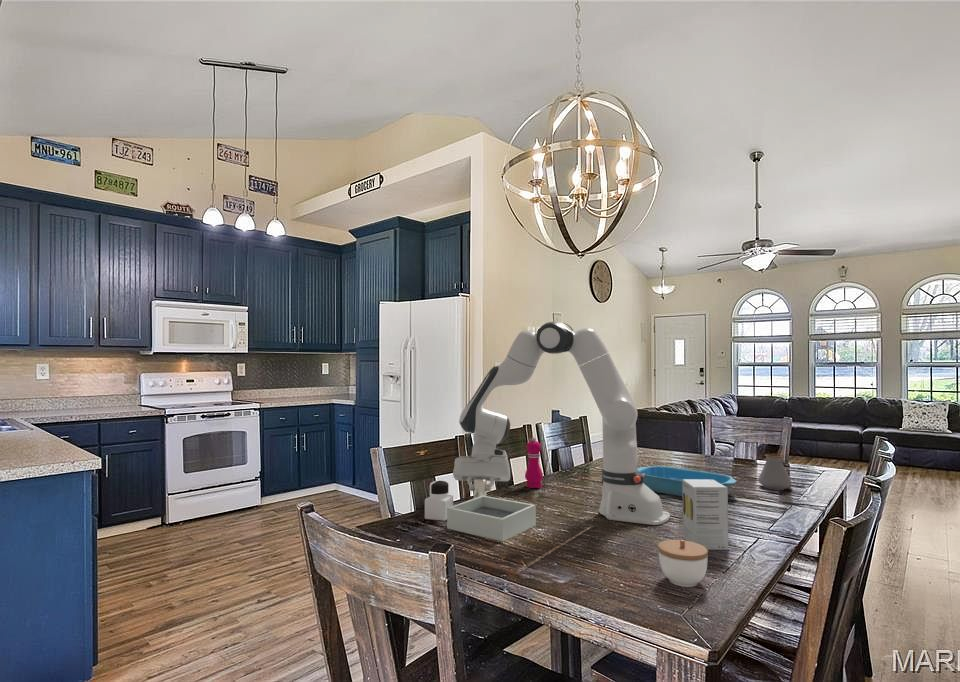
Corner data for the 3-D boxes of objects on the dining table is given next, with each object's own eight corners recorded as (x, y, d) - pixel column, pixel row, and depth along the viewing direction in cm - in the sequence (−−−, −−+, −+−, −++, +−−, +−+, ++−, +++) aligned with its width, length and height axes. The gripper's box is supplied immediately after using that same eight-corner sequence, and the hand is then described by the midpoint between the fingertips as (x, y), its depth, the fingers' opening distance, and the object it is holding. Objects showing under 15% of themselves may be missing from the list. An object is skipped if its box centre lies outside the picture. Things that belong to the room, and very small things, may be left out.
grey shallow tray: (529, 525, 161) (529, 515, 161) (501, 539, 148) (501, 528, 149) (483, 515, 171) (483, 506, 171) (454, 527, 158) (454, 517, 159)
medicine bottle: (453, 517, 173) (453, 480, 173) (445, 523, 166) (445, 485, 166) (433, 515, 175) (433, 478, 175) (424, 521, 168) (424, 483, 169)
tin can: (489, 505, 184) (488, 478, 184) (481, 508, 180) (481, 481, 180) (479, 503, 186) (478, 477, 187) (471, 506, 183) (471, 479, 183)
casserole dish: (743, 493, 202) (742, 474, 202) (727, 506, 185) (727, 485, 185) (648, 480, 225) (648, 463, 226) (626, 490, 208) (626, 472, 208)
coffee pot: (788, 493, 201) (787, 453, 202) (755, 488, 209) (754, 450, 210) (799, 483, 218) (798, 446, 218) (768, 479, 225) (767, 443, 226)
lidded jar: (657, 570, 128) (657, 531, 129) (705, 575, 125) (704, 534, 126) (659, 588, 118) (658, 545, 119) (711, 594, 115) (710, 550, 115)
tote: (536, 528, 161) (535, 505, 161) (503, 545, 146) (502, 519, 147) (482, 517, 173) (482, 495, 173) (447, 531, 158) (447, 508, 158)
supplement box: (682, 538, 151) (681, 478, 152) (714, 538, 151) (713, 478, 152) (694, 550, 142) (693, 486, 142) (729, 550, 141) (728, 486, 142)
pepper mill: (542, 489, 209) (541, 438, 210) (524, 488, 210) (523, 438, 211) (543, 485, 216) (543, 436, 217) (526, 484, 217) (525, 435, 218)
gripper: (454, 451, 192) (449, 484, 182) (510, 451, 189) (508, 485, 179) (456, 461, 196) (451, 494, 186) (511, 461, 193) (509, 495, 183)
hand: (479, 490), depth 183 cm, fingers closed on tin can, 4 cm apart
